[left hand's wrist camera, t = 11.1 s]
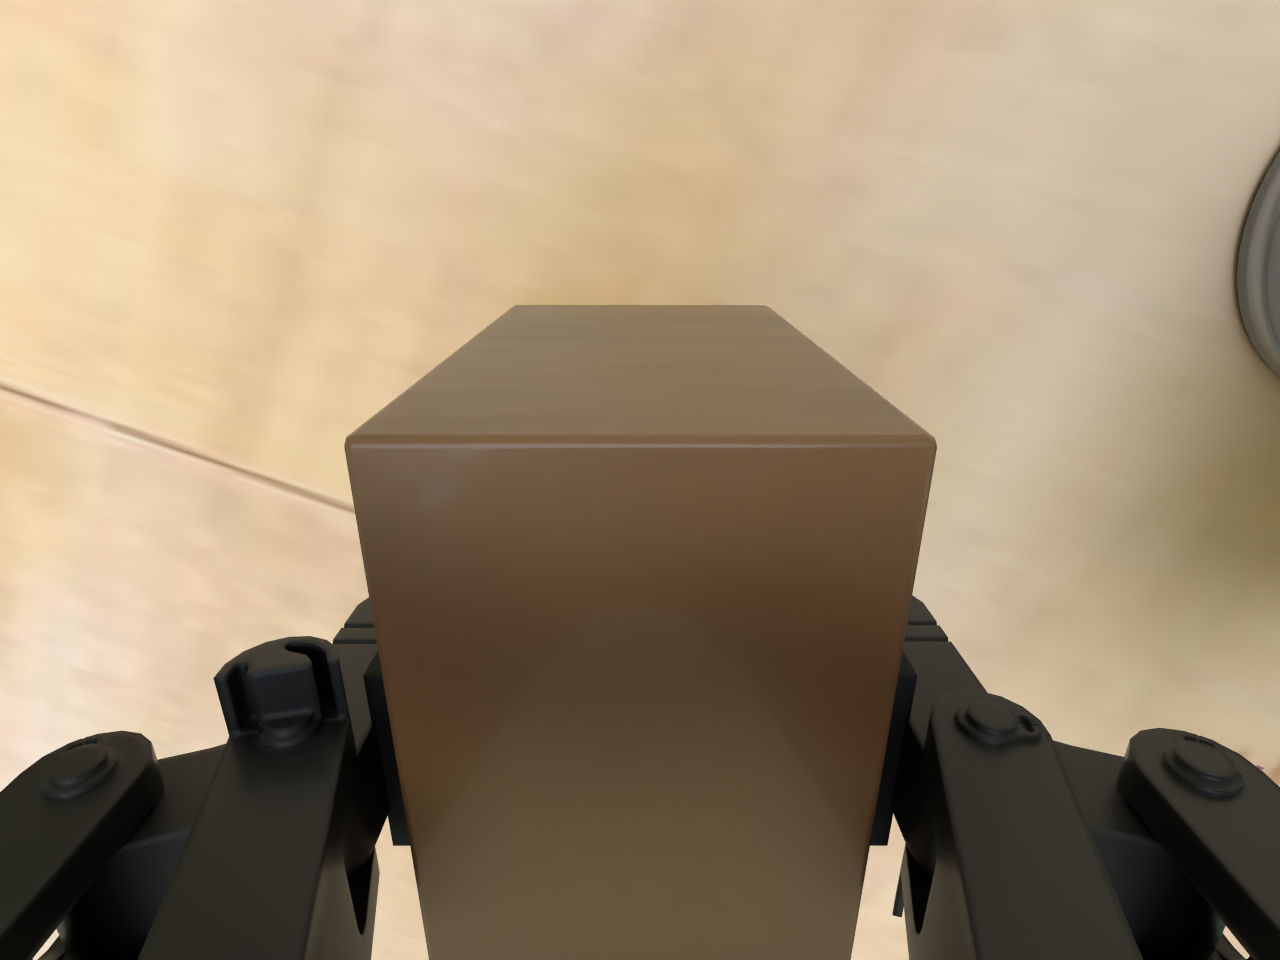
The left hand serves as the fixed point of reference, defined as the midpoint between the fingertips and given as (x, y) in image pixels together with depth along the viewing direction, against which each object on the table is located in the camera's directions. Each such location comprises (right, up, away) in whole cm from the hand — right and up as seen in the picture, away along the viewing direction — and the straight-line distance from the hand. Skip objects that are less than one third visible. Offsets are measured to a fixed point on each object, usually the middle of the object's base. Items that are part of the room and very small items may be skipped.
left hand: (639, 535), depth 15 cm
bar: (0, -25, +11) cm, 27 cm away
